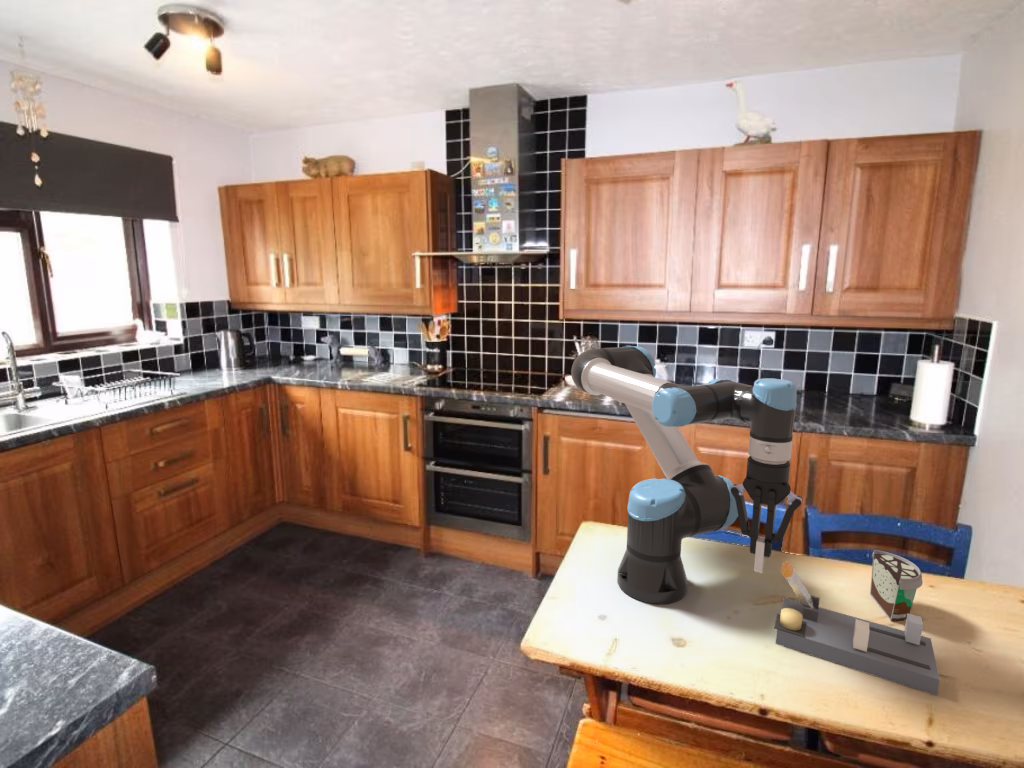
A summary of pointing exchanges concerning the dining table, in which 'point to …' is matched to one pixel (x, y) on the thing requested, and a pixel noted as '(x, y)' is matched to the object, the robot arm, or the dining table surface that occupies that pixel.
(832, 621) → the panel
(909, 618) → the grey slider
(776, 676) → the dining table surface
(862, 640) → the cream slider
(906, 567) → the food container
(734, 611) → the dining table surface
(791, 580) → the lever
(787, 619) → the button
